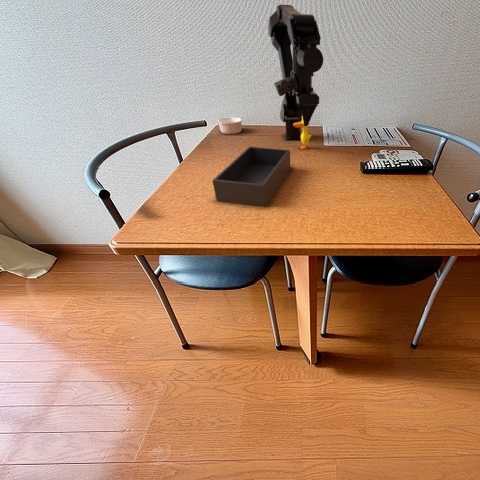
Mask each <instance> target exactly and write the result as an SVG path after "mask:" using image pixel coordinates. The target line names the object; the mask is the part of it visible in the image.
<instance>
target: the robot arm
mask: <svg viewBox="0 0 480 480" xmlns="http://www.w3.org/2000/svg"><path fill="white" fill-rule="evenodd" d="M267 31H268V36H269V38H270V40H271V45H272V46H273V48H274V49H275V50H276V51H277V53H278V59H279V65H280V71H281V77H282V79H280V80H277V81H275V82H274V83H273V84H274V88H275V89H276V92H277V94H278V96H279V97H283V99H282V102H281V105H280V106H281V107H280V110H279V111H280V112H279V117H280V120H281V122H282V123H283V124H284V125H285V132H284V133H283V137H284V138H285V140H286V141H291V140H292V141H293V140H294V141H295V140H301V134H302V127H297V128H296V127H295V126H293V124H294V123H296V122H302V116H303V122H304V126H308V127H309V125H310V122H311V120H312V117H313V115H314V112H315V111H316V108H317V107H318V105H319V104H320V96H319V95H318V94H317V93H316V92H315V91H314V87H313V77H314V75H315V74H314V73H316V72H319V71H320V69H321V68H322V67H323V65H324V55H323V53H322V51H321V49H319V48H318V46H320V45H321V38H322V37H321V33H320V30H319V25H318V23H317V20H316V19H315V16H314V15H313V14H308V13H300V11H298V10H297V9H296V8H295V7H294V6H293V5H292V4H279V5H276V10H275V11H274V12H273V14H271V15H270V16H269V20H268V27H267ZM291 47H292V48H291ZM308 124H309V125H308Z"/></svg>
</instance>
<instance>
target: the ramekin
mask: <svg viewBox="0 0 480 480" xmlns="http://www.w3.org/2000/svg"><path fill="white" fill-rule="evenodd" d="M242 121H243V120H242V118H240V117H236V116H226V117H221V118H218V119H217V123H218V125H219V129H220V132H221V133H222V134H225V135H235V134H239V133H241V132H242V129H243V128H242Z"/></svg>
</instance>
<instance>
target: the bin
mask: <svg viewBox="0 0 480 480" xmlns="http://www.w3.org/2000/svg"><path fill="white" fill-rule="evenodd" d="M290 170H291V150H290V149H280V148H270V147H261V146H260V147H258V146H248V147H247V148H245V150H244V151H243V152H241V153H240V154H239V155H238V156H237V157H236V158H235V159H234V160H233V161H232V162H231V163H230V164H228V165H227V166H226V167H225V168H224V169H223V170H221V172H220V173H219V174H218V175H216V176H215V177H214V178H213V179H212V185H213V190H214V195H215V200H216V202H220V203H221V202H222V203H229V204H238V205H239V204H240V205H246V206H247V205H248V206H256V207H265V208H266V207H267V205H268V204H269V202H270V201H271V199H272V198H273V197H274V195H275V193H276V191H277V190H278V189H279V187H280V185H281V184H282V183H283V180H284V179H285V177H286V176H287V174H288V173H289V171H290Z"/></svg>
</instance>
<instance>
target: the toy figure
mask: <svg viewBox="0 0 480 480" xmlns="http://www.w3.org/2000/svg"><path fill="white" fill-rule="evenodd" d="M293 126H295V127H296V128H297V127H301V130H302V132H301V139H300V142H301V143H302V145H300V147H299V148H300V149H301V150H308V147H307V145H308V144H309V143H310V139H311V137H312V134H309V132H308V127H309V126H310V123H309V124H308V126H304V122H303V116H302V121H301V122H296V123H294V124H293Z"/></svg>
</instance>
